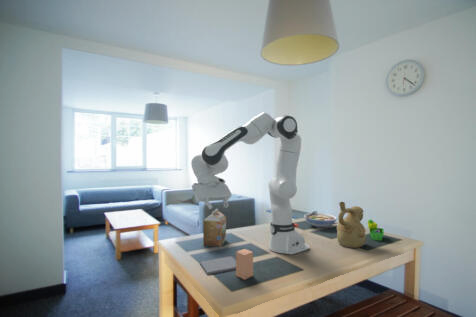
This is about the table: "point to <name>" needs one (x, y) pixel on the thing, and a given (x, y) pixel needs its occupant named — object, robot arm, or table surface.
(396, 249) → the table surface
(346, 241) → the ceramic vessel
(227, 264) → the mat
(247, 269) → the block
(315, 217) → the ramen bowl
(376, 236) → the fruit basket
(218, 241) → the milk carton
